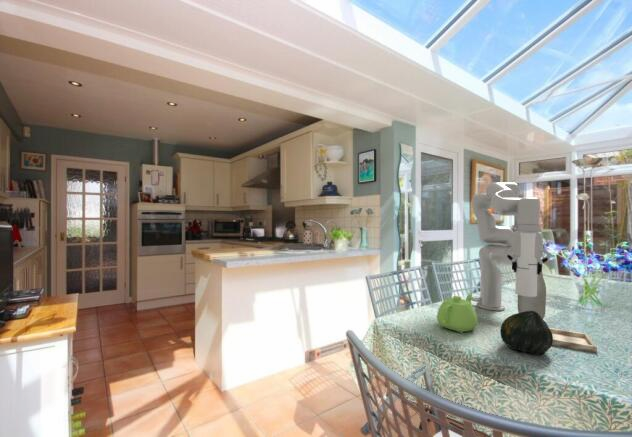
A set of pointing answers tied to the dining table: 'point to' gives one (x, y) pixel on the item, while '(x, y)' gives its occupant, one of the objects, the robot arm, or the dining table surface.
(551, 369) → the dining table surface
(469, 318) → the teapot
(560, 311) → the dining table surface
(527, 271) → the cylindrical container
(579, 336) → the wooden tray
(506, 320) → the squash
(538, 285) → the grey tall rounded bottle
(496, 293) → the robot arm
